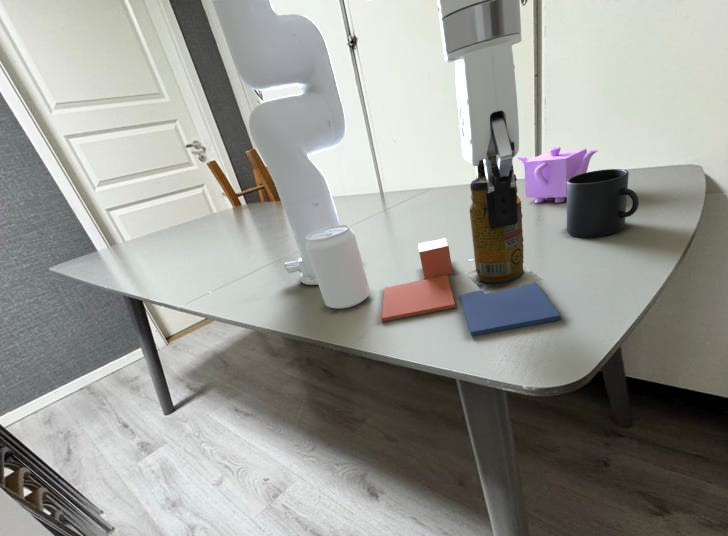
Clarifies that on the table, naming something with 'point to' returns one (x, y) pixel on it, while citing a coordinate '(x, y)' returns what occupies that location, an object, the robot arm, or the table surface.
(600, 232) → the mug
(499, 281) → the condiment
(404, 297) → the terracotta mat
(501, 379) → the table surface
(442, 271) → the terracotta block
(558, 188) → the teapot
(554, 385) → the table surface
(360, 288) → the beverage can
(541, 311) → the slate mat
